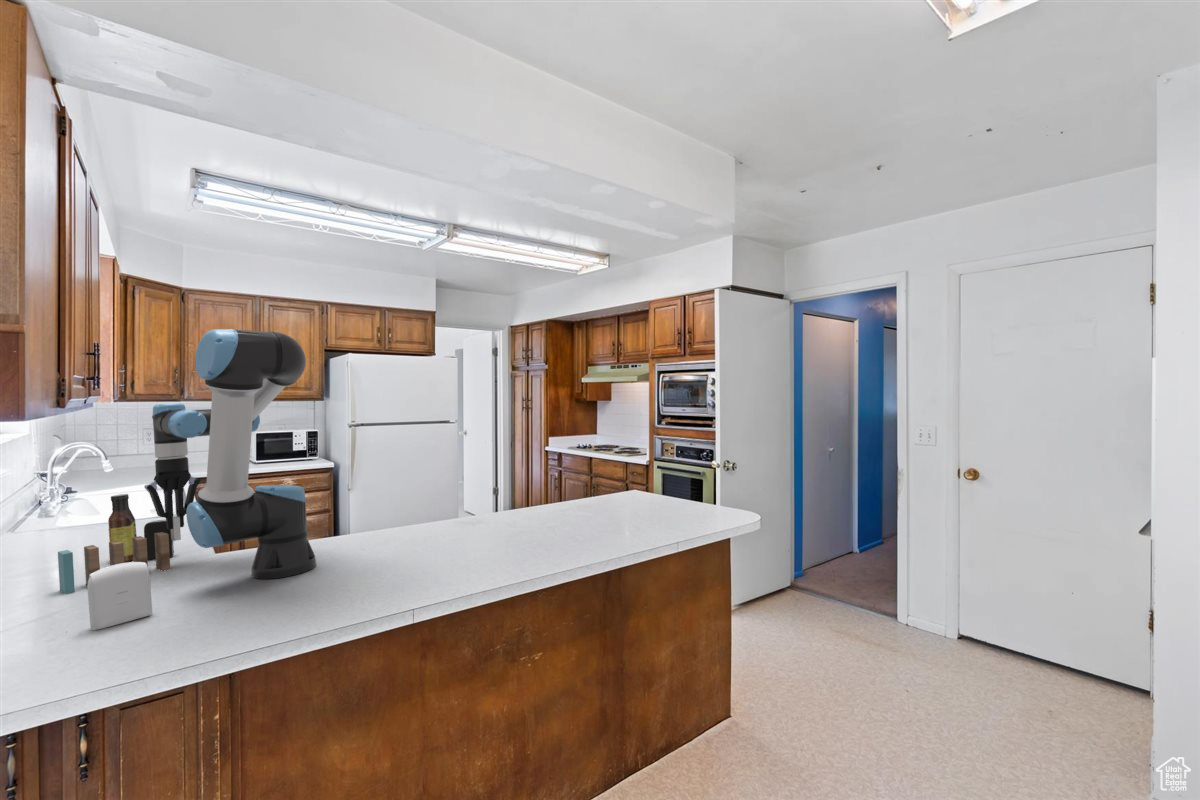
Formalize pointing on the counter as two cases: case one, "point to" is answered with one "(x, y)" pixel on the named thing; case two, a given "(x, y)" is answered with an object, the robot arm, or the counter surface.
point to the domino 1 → (66, 571)
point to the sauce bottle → (122, 524)
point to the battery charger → (149, 535)
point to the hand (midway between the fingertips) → (176, 539)
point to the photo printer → (119, 594)
